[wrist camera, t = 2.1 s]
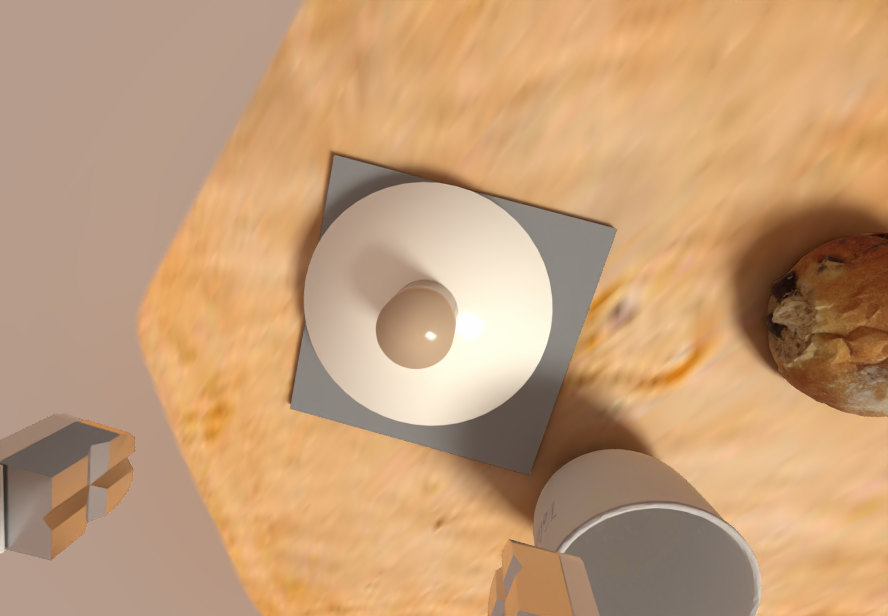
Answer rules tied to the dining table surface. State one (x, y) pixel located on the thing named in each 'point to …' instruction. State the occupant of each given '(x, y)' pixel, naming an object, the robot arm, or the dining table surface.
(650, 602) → the teacup
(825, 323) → the bread roll
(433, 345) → the lid
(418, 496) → the dining table surface
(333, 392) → the mat
